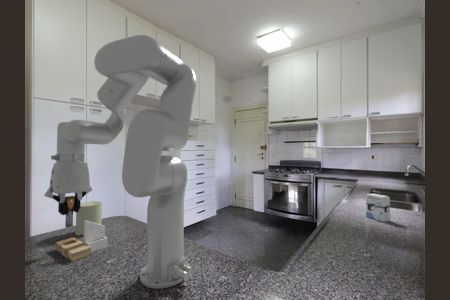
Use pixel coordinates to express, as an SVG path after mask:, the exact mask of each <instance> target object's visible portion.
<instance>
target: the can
mask: <svg viewBox="0 0 450 300" xmlns="http://www.w3.org/2000/svg"><path fill="white" fill-rule="evenodd" d="M102 205H103V201H100V200H99V201H98V200H95V201H93V200H91V201H84V202H80V209H79V212H75V232H74V234H75V235H76V236H80V235H83V236H84V220H85V221H89V222H93V223H96V224H100V225H102V211H103V210H102V207H103V206H102Z"/></svg>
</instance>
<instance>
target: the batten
mask: <svg viewBox="0 0 450 300" xmlns="http://www.w3.org/2000/svg"><path fill="white" fill-rule="evenodd" d="M55 251H58V253H60V254H61V255H62V256H64V257H65V258H67V260H69V261H71V263H72V262H76V261H78V260H81V259H83V258H86V257H89V256H91V255H92V252H91V247H90V246H88V245H86V244H85V243H84V241H81V240H79V239H78V238H76V237H74V236H73V237H70V238H66V239H63V240H59V241H56V242H55Z"/></svg>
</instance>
